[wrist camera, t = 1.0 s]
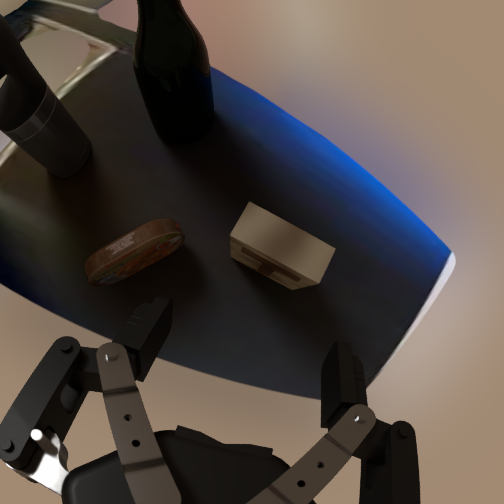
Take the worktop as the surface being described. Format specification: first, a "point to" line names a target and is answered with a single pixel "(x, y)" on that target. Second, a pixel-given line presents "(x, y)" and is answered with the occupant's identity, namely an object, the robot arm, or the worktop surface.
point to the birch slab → (279, 249)
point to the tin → (133, 252)
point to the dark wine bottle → (173, 71)
